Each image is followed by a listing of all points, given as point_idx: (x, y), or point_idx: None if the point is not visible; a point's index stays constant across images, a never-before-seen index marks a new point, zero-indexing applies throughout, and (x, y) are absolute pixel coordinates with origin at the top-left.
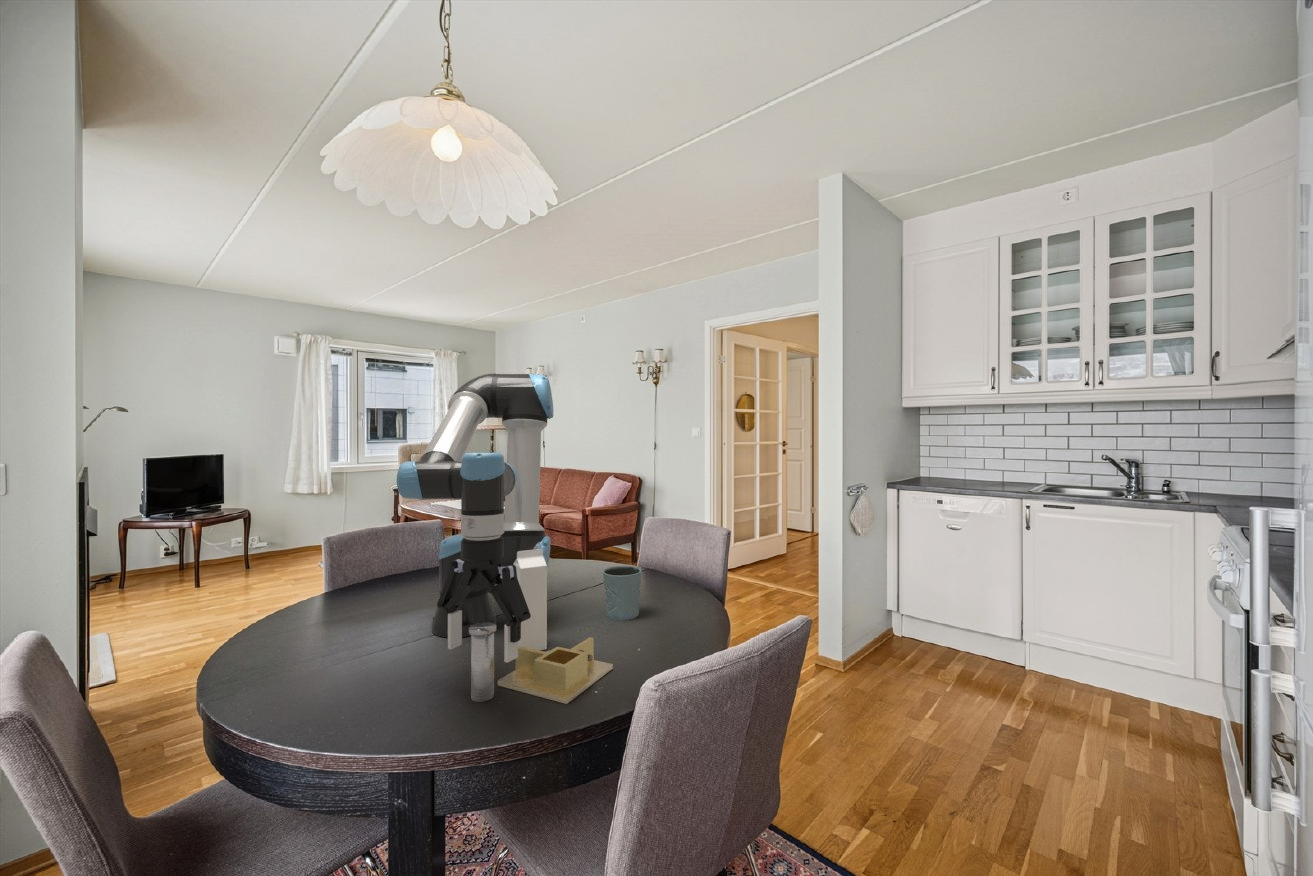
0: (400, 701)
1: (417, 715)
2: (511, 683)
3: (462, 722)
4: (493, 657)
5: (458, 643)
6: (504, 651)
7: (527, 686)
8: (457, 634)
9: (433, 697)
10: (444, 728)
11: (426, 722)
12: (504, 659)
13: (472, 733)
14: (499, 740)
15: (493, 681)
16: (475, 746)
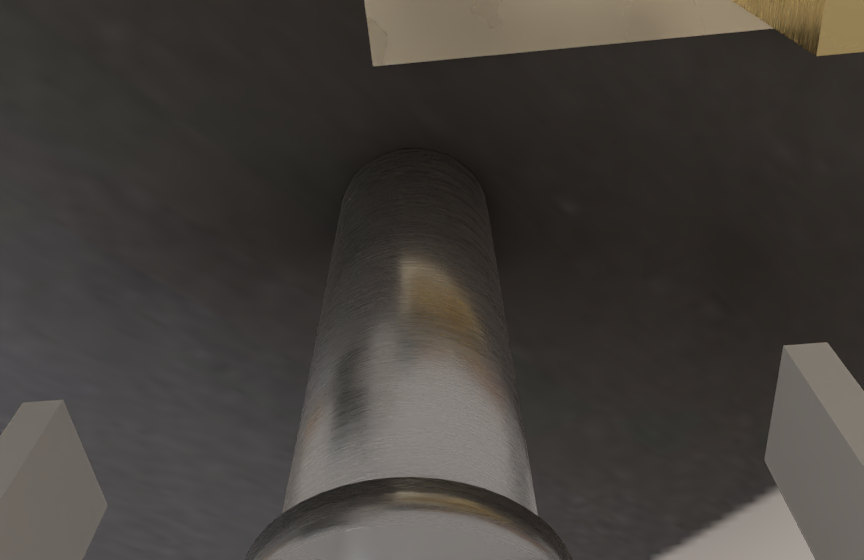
0: None
1: None
2: (513, 48)
3: (543, 430)
4: (502, 342)
5: (68, 453)
6: (805, 536)
7: (668, 17)
8: (30, 541)
9: (171, 361)
10: None
11: None
12: (774, 477)
13: (662, 460)
14: None
15: (486, 232)
16: (747, 505)
